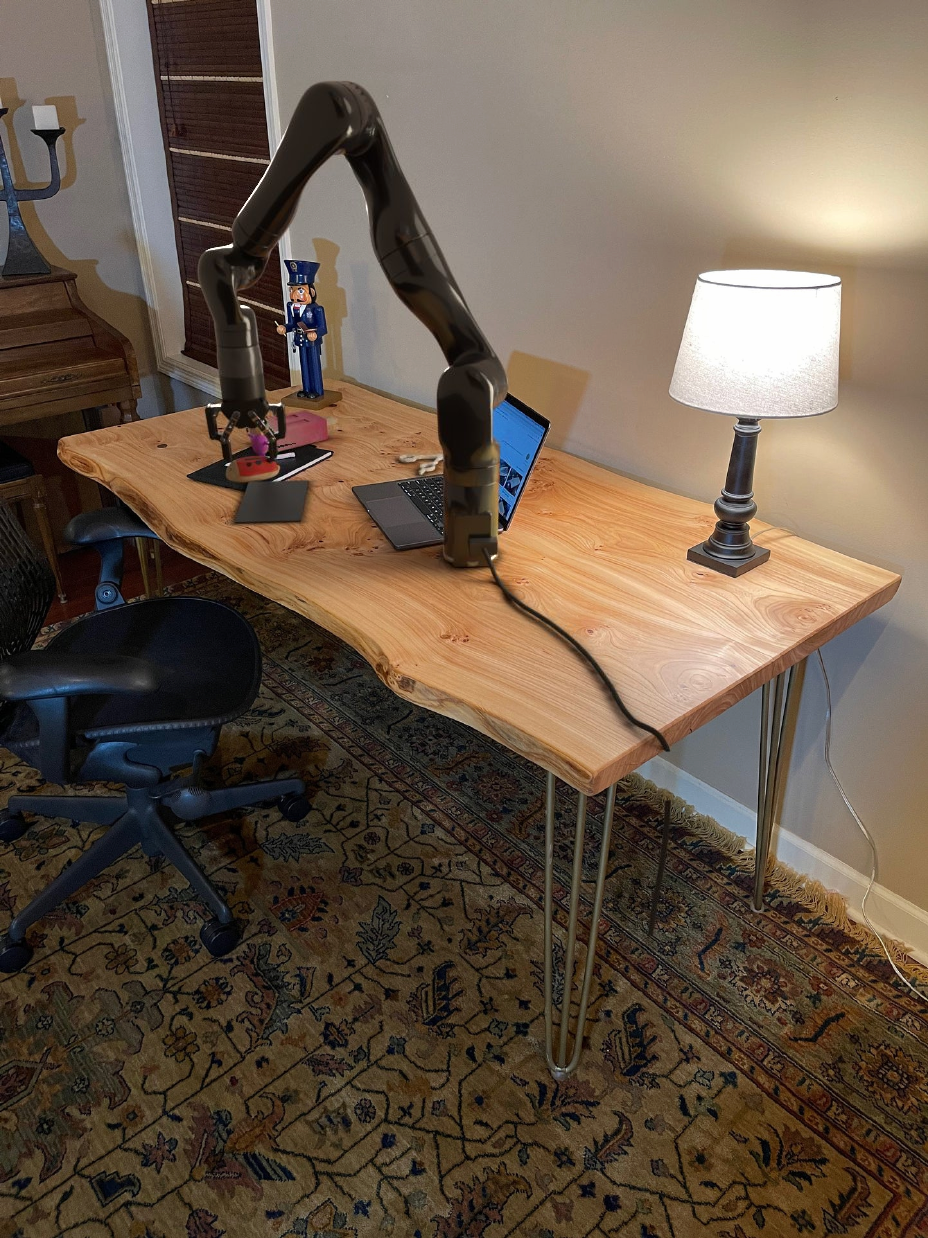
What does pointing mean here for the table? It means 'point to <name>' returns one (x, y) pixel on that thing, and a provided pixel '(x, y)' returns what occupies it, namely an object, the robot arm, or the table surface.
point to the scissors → (414, 457)
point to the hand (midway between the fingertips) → (251, 460)
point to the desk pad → (272, 502)
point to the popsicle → (301, 429)
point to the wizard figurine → (258, 442)
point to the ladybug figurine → (251, 469)
